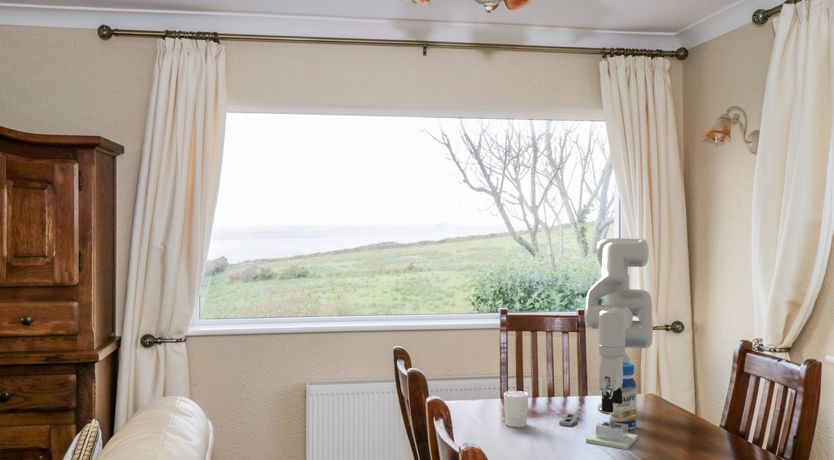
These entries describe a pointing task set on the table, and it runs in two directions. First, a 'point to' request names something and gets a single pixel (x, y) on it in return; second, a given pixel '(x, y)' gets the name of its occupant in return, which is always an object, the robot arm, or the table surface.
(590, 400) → the table surface
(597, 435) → the end link
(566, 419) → the chain tail
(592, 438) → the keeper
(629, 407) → the beverage bottle
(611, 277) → the robot arm
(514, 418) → the white cup
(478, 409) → the table surface
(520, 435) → the table surface
